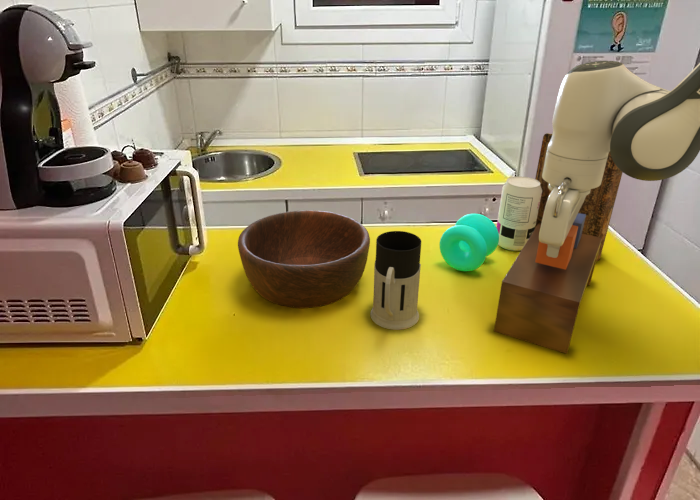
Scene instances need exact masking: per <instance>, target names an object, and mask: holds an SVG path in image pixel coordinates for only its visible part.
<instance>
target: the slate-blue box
mask: <svg viewBox="0 0 700 500" xmlns="http://www.w3.org/2000/svg"><path fill="white" fill-rule="evenodd" d="M585 218H586V214H581V213H578V214H577V216H576V218H575V220H574V222H573V225H574V226H578V230H577V235H576V239H575V243H574V248H575V249H576V248H577V246H578V243H579V241H580V239H581V235H582V231H583V226H584V222H585Z"/></svg>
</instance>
